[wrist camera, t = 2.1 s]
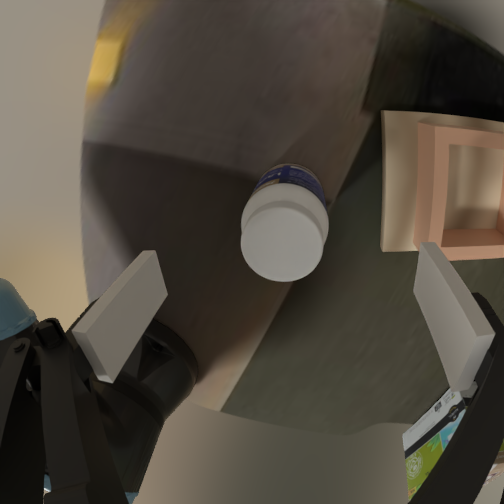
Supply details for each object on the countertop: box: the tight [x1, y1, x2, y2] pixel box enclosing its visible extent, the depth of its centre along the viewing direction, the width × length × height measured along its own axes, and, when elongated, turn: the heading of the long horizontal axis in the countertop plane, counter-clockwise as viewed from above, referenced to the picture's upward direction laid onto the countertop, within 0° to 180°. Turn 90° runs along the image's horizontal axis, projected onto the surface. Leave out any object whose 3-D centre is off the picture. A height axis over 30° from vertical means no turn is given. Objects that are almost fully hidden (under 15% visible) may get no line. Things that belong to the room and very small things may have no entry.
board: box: [380, 110, 504, 252], centre depth 22 cm, size 16×12×1 cm
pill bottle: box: [241, 164, 329, 282], centre depth 22 cm, size 6×6×10 cm
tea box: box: [403, 381, 504, 501], centre depth 30 cm, size 15×10×15 cm
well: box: [413, 122, 504, 261], centre depth 20 cm, size 10×10×4 cm
